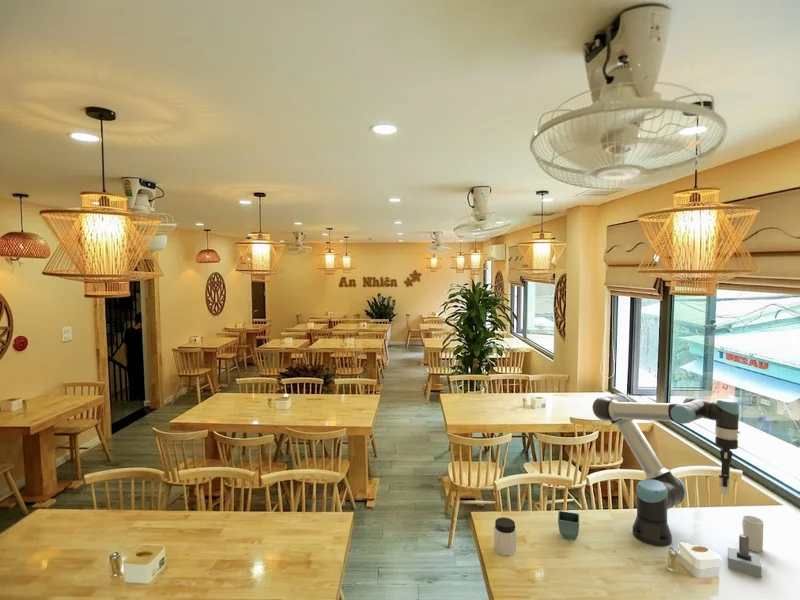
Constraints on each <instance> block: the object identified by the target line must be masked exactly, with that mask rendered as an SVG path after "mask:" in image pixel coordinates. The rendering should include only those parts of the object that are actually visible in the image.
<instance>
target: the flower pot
mask: <svg viewBox="0 0 800 600" xmlns="http://www.w3.org/2000/svg"><path fill="white" fill-rule="evenodd" d="M557 514H558V516H557V525H558V531H559V534H560V537H562V539H565V538H566V539H565V540H570V539H571V541H576V540H577V539H578V537H579V533H580V532H579V531H580V514H579V513H575V512H569V511H568V512H567V511H564V510H558V513H557Z"/></svg>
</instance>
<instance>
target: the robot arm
mask: <svg viewBox="0 0 800 600" xmlns="http://www.w3.org/2000/svg"><path fill="white" fill-rule="evenodd" d="M739 407H740V406H739V402H737V400H734V399H731V398H730V399H729V398H717V399H716V401H715V402H714V401H710V400H705V399H700V398H696V397H686V398H685V399H684V400H683V402H681V403H679V402H678V403H677V402H676V403H673V402H672V403H671V402H669V403H668V402H667V403H665V402H633V401H632V400H631V399H630V398H629V397H628V396H627V395H626V394H624V393H611V394H608V395H604V396H599V397H597V398H596V399H595V400H594V401H593V403H592V407H591V408H592V412H593V415H594V416H595V417H596V418H598V419H599V420H601V421H605V422H607V421H610V423H611V424H612V426H615V427H617V428H618V429H619V430H618V431H619V432H620V433H621V435H622V437H623V438H624V440H625V441H626V444H627V445H628V447H629V449H630V450H631V452H632V454H633V455H634V456H635V457H634V458H636V460H637V462H638V464H639V465H640V467H641V469H642V470H643V472H644V474H645V479H642V480H640V481H639V482H638V483H637V486H636V517H635V521H634V523H633V525H632V534H633V536H634V537H635V538H636V539H637V540H639V541H641V542H643V543H646V544H648V545H650V546H651V545H653V546H657V547H658V546H659V547H665V546H670V545H671V544H672V542H673V535H672V533H671V530H670V526H669V524H668V510H670V509H671V508H673V507H675V506H677V505H680V504H681V503H682V502H683V501H684V500H685V498H686V496H687V488H686V486H685V483H684V482H683V481H682V480H681V478H679V477H676V476H675V475H673V474H672V471H671V470H670V469H668V468H666V467H664V466H663V464H662V462H661V461H660V459H659V458H658V456H657V453H656V452H655V451H654V449H653V447H652V446H651V445H650V443H649V441H648V440H647V437H645V435H644V433H643V432H642V430H641V429H640V427H639V424H638V423H637V422H636V421H635V420H639V421H641V420H642V421H660V422H675V423H678V424H681V425H683V424H690V423H692V422H695V421H697V420H700V419H707V420H711V421H715V428H714V429H715V433H714V434H715V437H714V438H715V439H714V443H715V446H717V447H719V448H720V451H719V455H720V462H721V469H720V470H721V472H720V473H721V474H720V475H718V477H719V479H720V494H722V495H726V496H729V495H730V482H731V481H730V480H731V468H733V464H731V463H732V458H733V451H732V450H737V449H738V448H739V440H738V438H739V434H741V432H740V430H739V421H740V420H739V418H740V409H739Z"/></svg>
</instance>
